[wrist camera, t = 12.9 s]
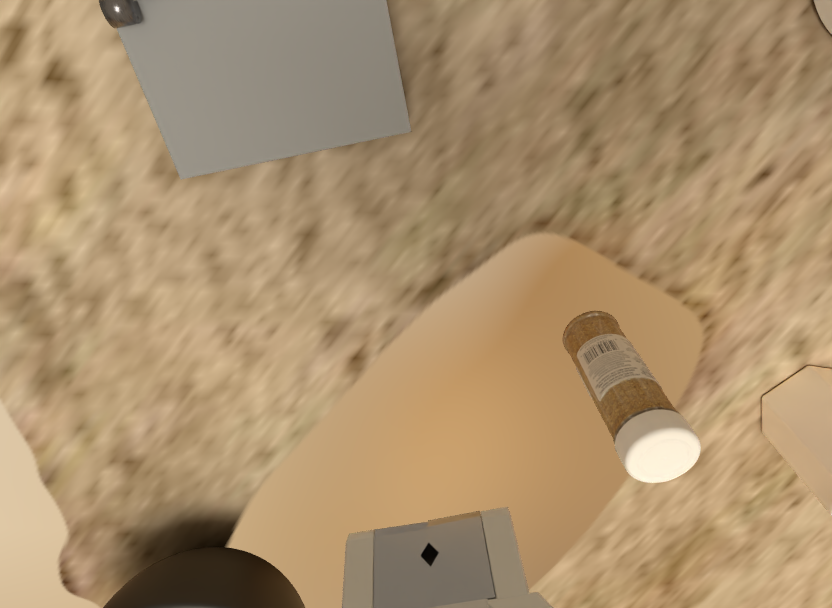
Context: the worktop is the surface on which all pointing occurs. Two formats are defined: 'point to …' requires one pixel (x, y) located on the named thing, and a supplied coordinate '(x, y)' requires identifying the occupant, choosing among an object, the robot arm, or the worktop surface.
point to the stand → (262, 76)
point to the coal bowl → (208, 583)
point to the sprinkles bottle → (630, 400)
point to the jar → (803, 427)
